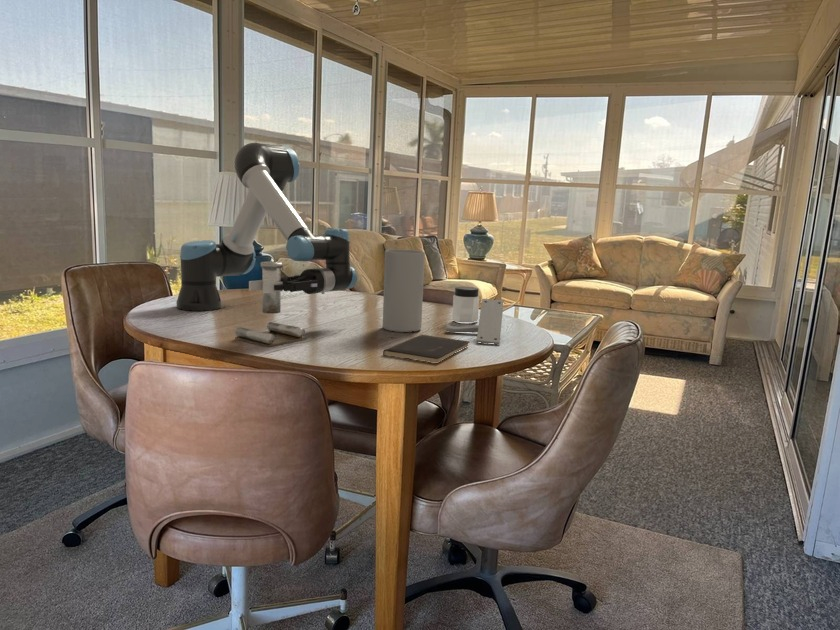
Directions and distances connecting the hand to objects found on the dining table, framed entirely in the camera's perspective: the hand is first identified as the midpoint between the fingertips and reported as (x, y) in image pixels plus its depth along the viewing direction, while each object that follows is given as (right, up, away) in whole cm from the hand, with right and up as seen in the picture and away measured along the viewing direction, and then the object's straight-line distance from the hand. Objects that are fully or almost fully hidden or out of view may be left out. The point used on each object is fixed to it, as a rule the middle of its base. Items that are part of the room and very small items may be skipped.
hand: (256, 287), depth 174 cm
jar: (+61, -10, +47) cm, 77 cm away
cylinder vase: (+39, -12, +30) cm, 51 cm away
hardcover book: (+47, -18, +2) cm, 51 cm away
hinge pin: (+3, -7, +6) cm, 9 cm away
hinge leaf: (+2, -15, +7) cm, 16 cm away
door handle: (+61, -15, +22) cm, 67 cm away
